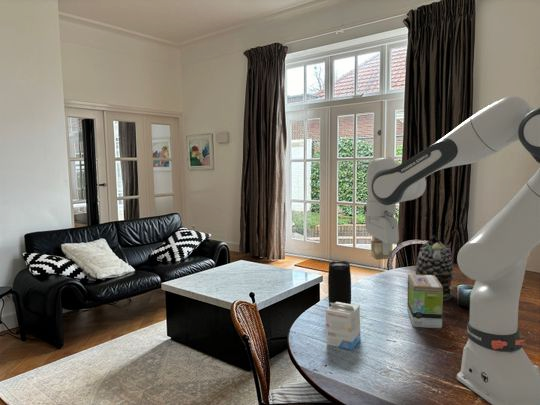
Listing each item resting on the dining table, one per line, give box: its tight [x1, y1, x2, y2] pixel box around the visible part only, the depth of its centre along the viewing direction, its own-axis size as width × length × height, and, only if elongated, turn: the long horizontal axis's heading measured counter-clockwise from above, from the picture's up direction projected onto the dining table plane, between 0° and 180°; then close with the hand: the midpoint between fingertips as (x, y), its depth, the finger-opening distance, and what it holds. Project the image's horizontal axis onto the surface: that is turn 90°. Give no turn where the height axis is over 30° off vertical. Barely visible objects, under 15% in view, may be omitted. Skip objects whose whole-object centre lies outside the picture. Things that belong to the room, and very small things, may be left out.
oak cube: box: [370, 240, 393, 261], centre depth 130 cm, size 5×5×5 cm
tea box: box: [406, 273, 444, 329], centre depth 146 cm, size 15×10×15 cm
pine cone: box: [414, 234, 454, 301], centre depth 170 cm, size 21×15×25 cm
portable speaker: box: [327, 260, 352, 308], centre depth 154 cm, size 9×9×20 cm
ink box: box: [325, 302, 361, 351], centre depth 130 cm, size 9×8×13 cm
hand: (381, 252), depth 130 cm, fingers closed on oak cube, 5 cm apart
